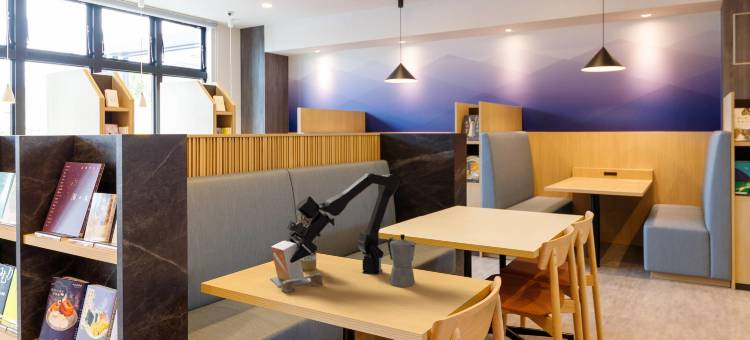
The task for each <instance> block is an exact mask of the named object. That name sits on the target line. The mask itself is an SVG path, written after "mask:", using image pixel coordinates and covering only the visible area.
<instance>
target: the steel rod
mask: <svg viewBox="0 0 750 340" xmlns="http://www.w3.org/2000/svg"><path fill="white" fill-rule="evenodd" d="M322 274H323V273H321V272H320V273H316V274H315V273H314V274H310V275H306V276H304V277H300V278H296V279H291V280H286V281H283V282H282V283H283V284H285V283H287V282H291V281H299V280H303V279H307V280H309V279H311V278H313V277H314V276H319V275H322ZM322 276H323V275H322Z"/></svg>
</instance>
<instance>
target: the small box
mask: <svg viewBox="0 0 750 340" xmlns="http://www.w3.org/2000/svg"><path fill="white" fill-rule="evenodd" d="M297 249H298V247H297V244H296V243H292V242H289V240H288V241H287V240H282V241H280V242H278V243H274V244H273V245H272V246H270V250H271V254H272V257H273V259H272V260H273V263H274V266H275V271H276V277H278V279H281V280H284V281H286V280H291V279H296V278H300V277H303V276H304V270H302V265H301V261H300V259H299V260H297V261H295V262H293V263H291V262H290V260H291V258H292V256H293V255H294V253H295V252H296V250H297ZM304 277H305V276H304Z"/></svg>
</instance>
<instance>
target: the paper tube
mask: <svg viewBox="0 0 750 340" xmlns="http://www.w3.org/2000/svg"><path fill="white" fill-rule="evenodd" d="M312 219H313V218H312ZM312 219H311V218H309V219H307V218H305V217H304V216H303V215H302V214H301V213H300V212H299V211H298V222H301V223H303V225H304V224H305V223H307V224H308V223H309V222H310V221H311V220H312ZM313 243H314V244H315V245H316V246H317V238H316V239H315V240H314V241H313ZM310 253H311V252H310ZM300 261H301V265H302V270H303V272H304V271H307V272H309V271H314V270H316V269H317V251H316V252H315V253H314V254H313V253H311V255H308V256H306V257H304V258H302V259H300Z"/></svg>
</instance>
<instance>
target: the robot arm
mask: <svg viewBox="0 0 750 340" xmlns="http://www.w3.org/2000/svg"><path fill="white" fill-rule="evenodd" d="M372 184H374V185H377V190H378V194H377V198H376V201H375V204H374V207H373V211H372V213H371V216H370V220H369V223H368V225H367V228H366V230H365V231H364V232H363V231H360V232H359V237H358V239H357V240H356V241H357V247H358V249H359V250H360V251H361V253H362V255H364V256H363V259H362V272H361V273H363V274H374V275H379V274H380V273H381V272H383V268H382V259H383V258H384V253H385V252H384V251H383V250H382V249H381V248H380V247H379V243H380V230H381V226H382V224H383V220H384V217H385V214H386V211H387V209H388V205H389V203H390V199H391V197H393V195H394V194H395V192H396V191H397V189H398V187H399V185H400V179H399V177H398V176H397V175H396V174H392V173H390V174H389V173H383V174H382V175H380V174H375V173H371V172H366V173H364V174H363V175H362V176H361V177H360V178H359V179H358V180H356V181H355V182H354V183H353V184H351V185H349V187H348V188H346V189H345V190H343V191H342V192H341V193H339V194H337V195H334V196H332V197H330V198H328V199H326V200H325V201H324V202H320V203H317V202H316V201H315V200H314V199H313V197H312V196H310V195H307V196H306V197H305V198H303V199H302V200H300V201H299V202H298V204H297V205H296V207H295V210H297V211H298V213H299V212H300V213H301V214H302V215H303V216H304V217H305V218H307V219H309V218H311V219H312V218H313V219H312V220H311V221H310V222H309V223H308V224H307V223H305V224H304V225H303V223H301V222H299V221H297V222H296V221H293V220H289V222H288V225H287V227H286V229H288V231H289V233H288V242H292V243H296V244H297V247H298V249H297V250H296V252H295V253H294V255H293V256H292V258H291V260H290V262H291V263H293V262H295V261H297V260H299V259H302V258H304V257H306V256H308V255H311V253H313V254H314V253H315V252H316V253H317V251H318V246H317V244H316V245H315V244H314V243H313V241H314V240H315V239H316V240H317V238H320V237H321V236H322V235H321V233H322V232H323V231H324V230H325V228H327V226H328V225H330V226H333V227H335V218H334V217H337V216H339V215H340V214H341V213H343V211H344V210H346V208H347V206H348V205H349V203H350V202H351V201H352V200H353V199H355V198H356V197H357V196H358V195H359V194H361V193H362V192H363V191H364V190H366V189H367V188H369V186H371V185H372ZM322 212H324V213H322ZM329 215H330V216H333V217H330V216H329ZM310 252H311V253H310Z"/></svg>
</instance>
